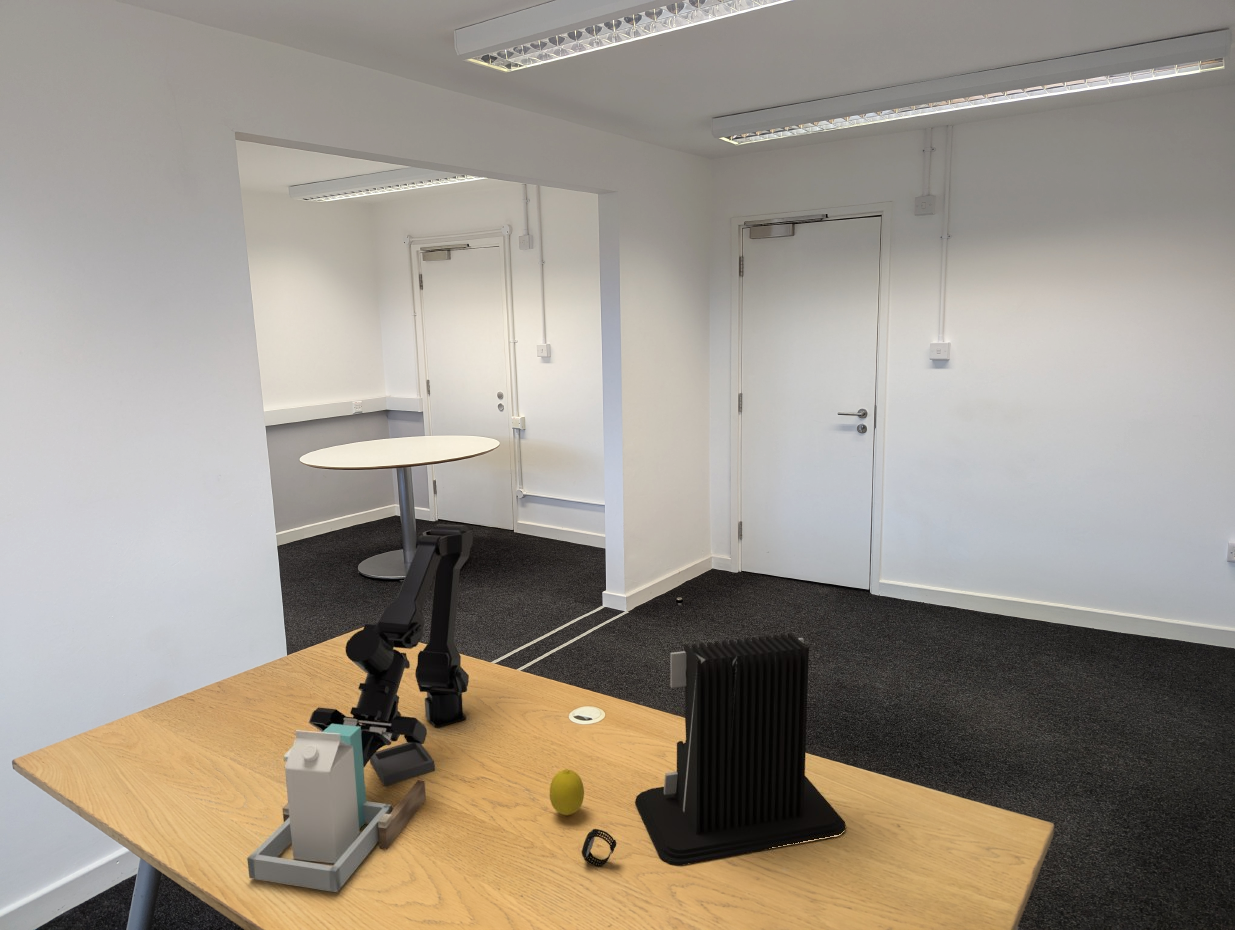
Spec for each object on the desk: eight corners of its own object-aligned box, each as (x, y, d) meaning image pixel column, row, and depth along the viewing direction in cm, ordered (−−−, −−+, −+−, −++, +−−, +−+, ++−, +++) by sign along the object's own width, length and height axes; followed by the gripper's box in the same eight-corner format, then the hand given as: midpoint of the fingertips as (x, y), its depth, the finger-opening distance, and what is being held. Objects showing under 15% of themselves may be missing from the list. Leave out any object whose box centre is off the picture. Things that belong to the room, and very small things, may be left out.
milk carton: (318, 830, 127) (308, 718, 123) (360, 834, 126) (351, 722, 122) (292, 860, 120) (281, 742, 117) (337, 864, 119) (327, 746, 115)
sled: (314, 812, 131) (306, 720, 128) (393, 823, 127) (386, 729, 125) (249, 878, 115) (238, 776, 112) (337, 892, 112) (328, 787, 109)
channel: (331, 787, 138) (329, 763, 138) (425, 799, 135) (424, 775, 134) (284, 834, 126) (282, 808, 125) (387, 849, 122) (385, 822, 121)
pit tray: (418, 748, 151) (417, 739, 151) (434, 770, 143) (434, 761, 143) (370, 762, 146) (369, 753, 146) (384, 786, 139) (383, 776, 138)
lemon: (589, 808, 132) (588, 763, 130) (576, 828, 127) (575, 782, 125) (558, 802, 133) (557, 758, 132) (544, 821, 128) (543, 776, 127)
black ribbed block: (797, 771, 142) (802, 609, 137) (852, 835, 124) (861, 652, 119) (631, 797, 135) (629, 627, 130) (664, 869, 117) (663, 676, 112)
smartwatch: (594, 850, 121) (593, 820, 120) (620, 864, 118) (619, 833, 117) (575, 864, 118) (574, 834, 117) (602, 879, 115) (601, 848, 114)
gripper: (448, 705, 141) (423, 798, 133) (352, 695, 145) (322, 785, 137) (426, 682, 132) (397, 781, 124) (324, 673, 136) (290, 767, 128)
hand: (351, 779), depth 128 cm, fingers closed
